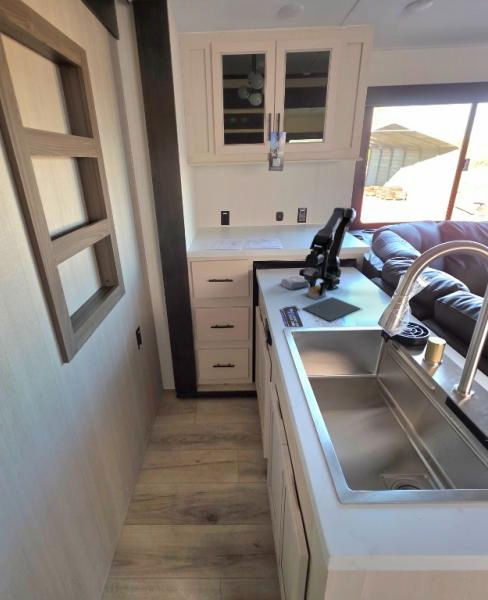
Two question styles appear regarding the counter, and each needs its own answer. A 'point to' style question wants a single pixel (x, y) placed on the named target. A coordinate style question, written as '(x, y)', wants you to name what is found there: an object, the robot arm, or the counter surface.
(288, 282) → the stone block
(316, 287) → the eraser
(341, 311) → the slate mat
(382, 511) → the counter surface
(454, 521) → the counter surface
